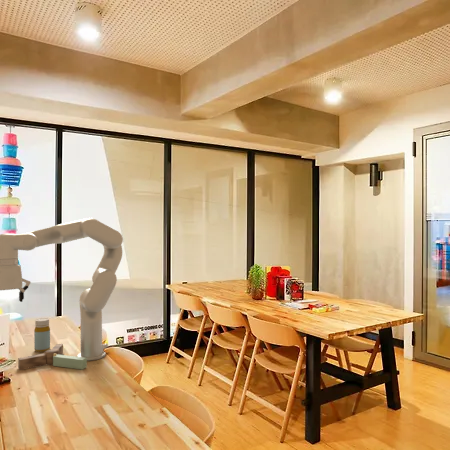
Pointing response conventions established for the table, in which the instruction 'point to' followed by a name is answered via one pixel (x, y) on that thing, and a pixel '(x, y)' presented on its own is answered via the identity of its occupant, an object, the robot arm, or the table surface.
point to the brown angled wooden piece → (40, 358)
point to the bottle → (42, 335)
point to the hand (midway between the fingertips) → (8, 302)
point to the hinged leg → (69, 361)
